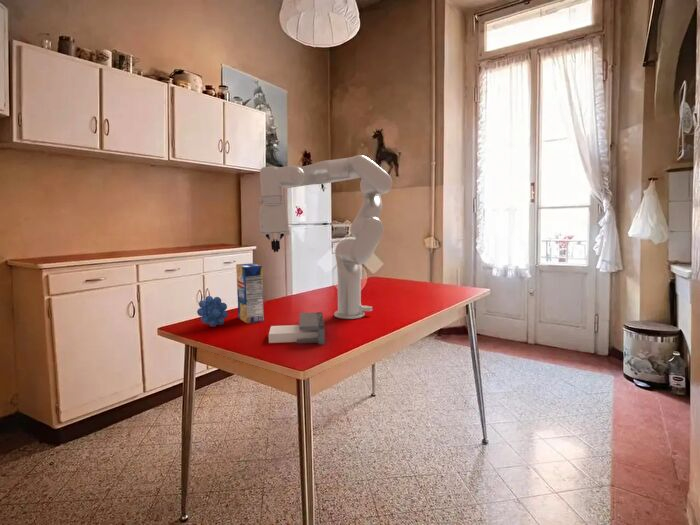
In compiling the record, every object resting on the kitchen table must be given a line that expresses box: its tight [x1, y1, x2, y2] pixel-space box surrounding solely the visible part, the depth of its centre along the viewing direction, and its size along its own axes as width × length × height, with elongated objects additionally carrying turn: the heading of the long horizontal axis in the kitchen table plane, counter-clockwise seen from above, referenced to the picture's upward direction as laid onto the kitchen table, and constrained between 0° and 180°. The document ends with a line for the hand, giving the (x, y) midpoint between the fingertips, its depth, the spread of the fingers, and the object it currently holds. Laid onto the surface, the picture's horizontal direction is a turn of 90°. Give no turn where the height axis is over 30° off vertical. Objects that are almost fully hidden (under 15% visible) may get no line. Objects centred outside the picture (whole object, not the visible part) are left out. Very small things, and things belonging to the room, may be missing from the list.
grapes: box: [196, 295, 229, 328], centre depth 147 cm, size 12×7×12 cm, turn 131°
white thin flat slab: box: [268, 324, 318, 344], centre depth 134 cm, size 16×10×3 cm, turn 96°
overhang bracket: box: [296, 311, 326, 346], centre depth 135 cm, size 9×18×6 cm, turn 6°
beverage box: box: [235, 262, 265, 324], centre depth 158 cm, size 7×11×22 cm, turn 33°
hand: (276, 251), depth 146 cm, fingers closed
